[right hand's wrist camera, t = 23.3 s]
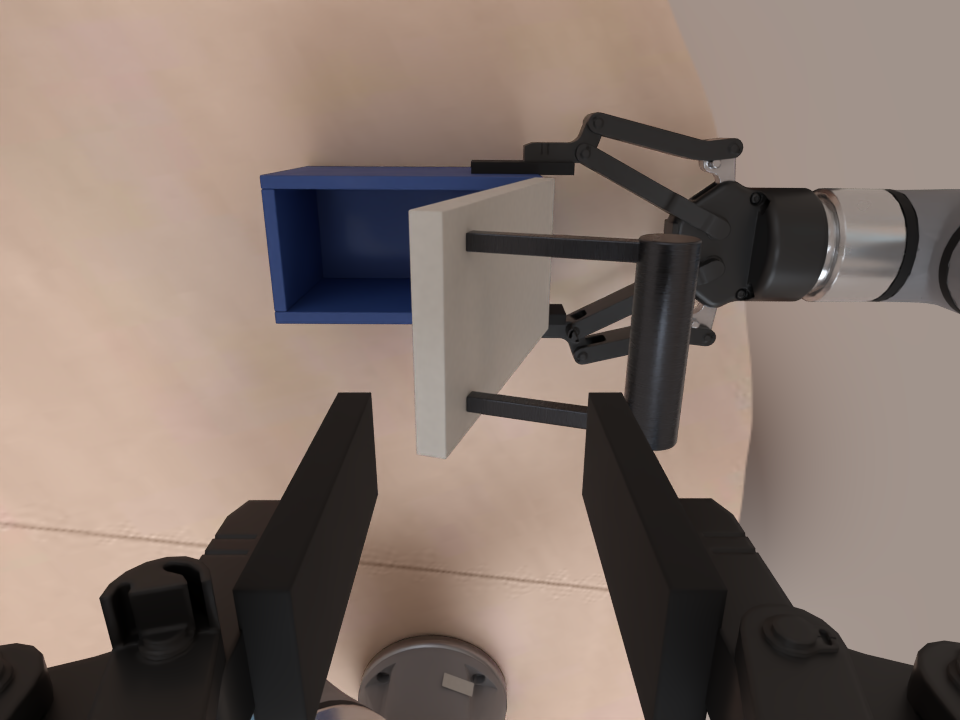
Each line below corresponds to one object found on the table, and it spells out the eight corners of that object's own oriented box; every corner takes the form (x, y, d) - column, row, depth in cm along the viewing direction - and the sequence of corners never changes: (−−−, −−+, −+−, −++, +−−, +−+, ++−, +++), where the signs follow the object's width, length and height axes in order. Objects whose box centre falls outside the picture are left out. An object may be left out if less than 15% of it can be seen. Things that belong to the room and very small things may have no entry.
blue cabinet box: (316, 285, 50) (275, 323, 40) (306, 166, 47) (259, 175, 37) (525, 286, 50) (537, 325, 40) (529, 167, 47) (543, 176, 37)
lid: (415, 454, 24) (671, 498, 21) (407, 209, 21) (706, 223, 18) (529, 327, 40) (683, 342, 37) (534, 177, 37) (703, 181, 34)
